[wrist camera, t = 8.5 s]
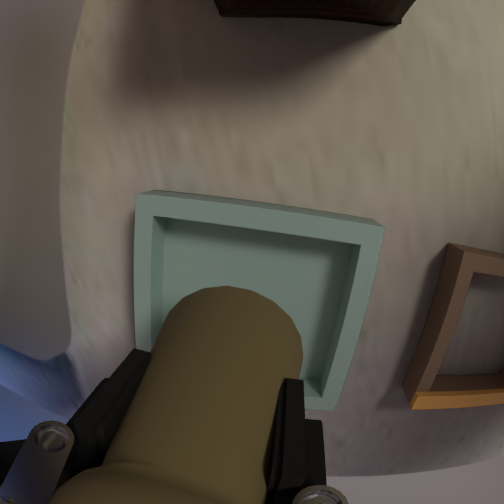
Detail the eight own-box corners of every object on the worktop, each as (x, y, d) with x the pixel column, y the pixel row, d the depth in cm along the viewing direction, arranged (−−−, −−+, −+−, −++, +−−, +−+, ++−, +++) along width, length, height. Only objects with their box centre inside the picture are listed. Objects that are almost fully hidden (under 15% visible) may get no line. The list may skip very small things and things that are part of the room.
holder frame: (548, 264, 15) (569, 275, 13) (502, 384, 18) (516, 401, 15) (448, 242, 16) (468, 253, 14) (401, 386, 19) (411, 409, 16)
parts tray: (372, 219, 16) (385, 227, 14) (330, 387, 19) (334, 411, 17) (155, 189, 17) (136, 193, 15) (152, 357, 20) (138, 376, 18)
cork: (274, 421, 14) (244, 644, 3) (151, 379, 14) (33, 572, 3) (327, 314, 12) (373, 631, 1) (176, 264, 12) (-56, 489, 2)
